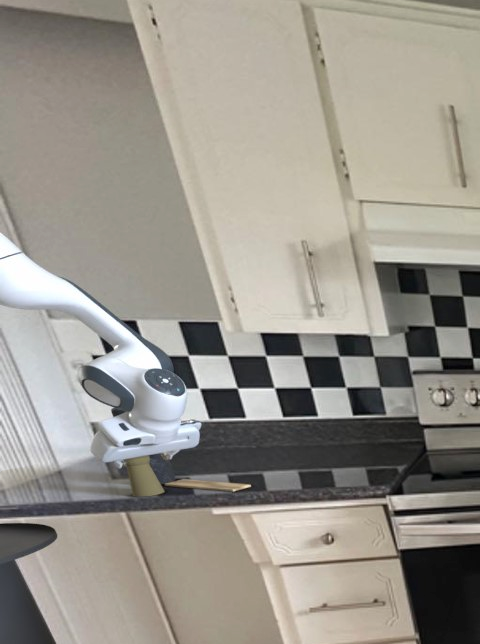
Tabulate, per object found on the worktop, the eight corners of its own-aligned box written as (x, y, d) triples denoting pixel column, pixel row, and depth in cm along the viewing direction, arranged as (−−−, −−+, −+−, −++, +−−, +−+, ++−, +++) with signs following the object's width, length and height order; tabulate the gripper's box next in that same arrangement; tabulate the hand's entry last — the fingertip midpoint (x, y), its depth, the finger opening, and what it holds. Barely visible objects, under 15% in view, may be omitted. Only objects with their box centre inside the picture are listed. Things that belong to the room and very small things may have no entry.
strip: (233, 491, 170) (232, 489, 170) (165, 485, 173) (164, 483, 173) (251, 486, 174) (250, 484, 174) (184, 481, 178) (183, 479, 178)
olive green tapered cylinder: (137, 498, 163) (119, 455, 159) (129, 494, 166) (112, 451, 162) (168, 492, 168) (152, 450, 164) (160, 488, 171) (144, 447, 167)
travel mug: (184, 478, 180) (158, 405, 173) (160, 485, 173) (132, 410, 166) (156, 478, 180) (128, 405, 172) (131, 485, 173) (100, 409, 165)
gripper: (193, 409, 165) (183, 444, 172) (89, 422, 147) (82, 460, 154) (211, 428, 165) (199, 462, 172) (109, 443, 147) (101, 481, 154)
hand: (143, 461), depth 163 cm, fingers open, 8 cm apart
